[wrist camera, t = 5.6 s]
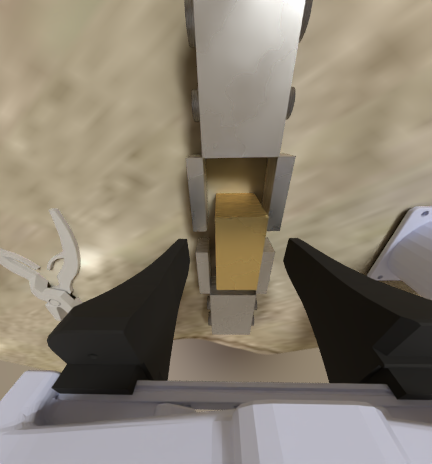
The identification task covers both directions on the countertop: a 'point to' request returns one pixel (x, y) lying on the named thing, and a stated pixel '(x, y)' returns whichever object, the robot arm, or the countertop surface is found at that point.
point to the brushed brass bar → (239, 240)
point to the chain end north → (231, 293)
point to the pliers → (56, 295)
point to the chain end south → (244, 91)
